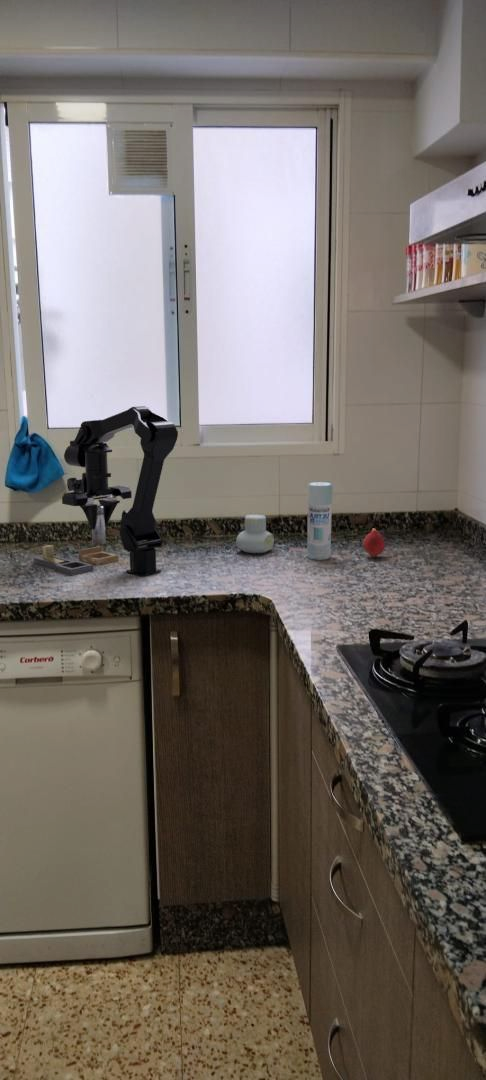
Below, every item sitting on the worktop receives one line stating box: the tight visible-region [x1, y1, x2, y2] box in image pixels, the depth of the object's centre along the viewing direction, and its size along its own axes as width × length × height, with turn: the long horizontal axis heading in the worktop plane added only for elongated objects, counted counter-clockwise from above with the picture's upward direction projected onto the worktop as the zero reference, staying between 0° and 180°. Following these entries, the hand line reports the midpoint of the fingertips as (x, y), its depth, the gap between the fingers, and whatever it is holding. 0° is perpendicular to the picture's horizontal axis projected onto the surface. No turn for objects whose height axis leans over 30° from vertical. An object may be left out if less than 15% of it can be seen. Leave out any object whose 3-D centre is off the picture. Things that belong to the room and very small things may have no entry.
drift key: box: [42, 544, 66, 564], centre depth 227 cm, size 7×2×4 cm, turn 46°
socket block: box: [33, 555, 94, 576], centre depth 226 cm, size 18×7×2 cm, turn 46°
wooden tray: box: [78, 545, 119, 566], centre depth 232 cm, size 8×7×3 cm
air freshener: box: [235, 514, 275, 555], centre depth 243 cm, size 11×8×10 cm
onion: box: [362, 528, 386, 558], centre depth 236 cm, size 6×6×8 cm
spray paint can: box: [306, 481, 333, 561], centre depth 235 cm, size 6×6×20 cm
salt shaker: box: [91, 504, 107, 545], centre depth 230 cm, size 4×4×10 cm
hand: (98, 528), depth 231 cm, fingers closed on salt shaker, 3 cm apart
